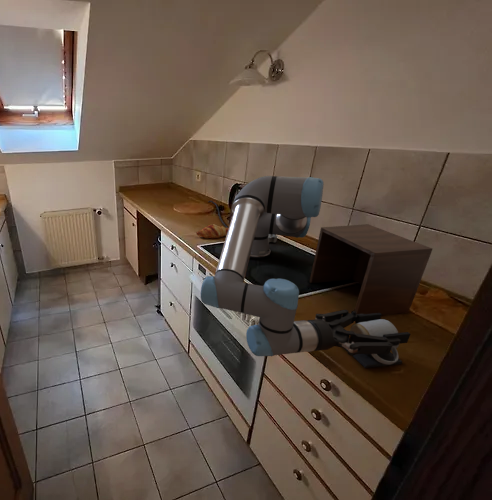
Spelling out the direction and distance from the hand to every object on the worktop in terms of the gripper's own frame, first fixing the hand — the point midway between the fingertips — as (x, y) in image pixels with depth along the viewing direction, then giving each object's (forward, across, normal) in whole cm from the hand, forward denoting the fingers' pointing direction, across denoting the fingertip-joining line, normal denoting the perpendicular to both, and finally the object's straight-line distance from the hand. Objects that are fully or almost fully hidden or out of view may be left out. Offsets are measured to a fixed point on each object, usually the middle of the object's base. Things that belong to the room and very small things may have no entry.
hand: (392, 327), depth 77 cm
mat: (-5, 0, -8) cm, 9 cm away
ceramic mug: (-5, +1, -6) cm, 8 cm away
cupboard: (+12, -26, -8) cm, 30 cm away
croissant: (-15, -93, -8) cm, 95 cm away
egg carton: (+10, -83, -8) cm, 84 cm away
